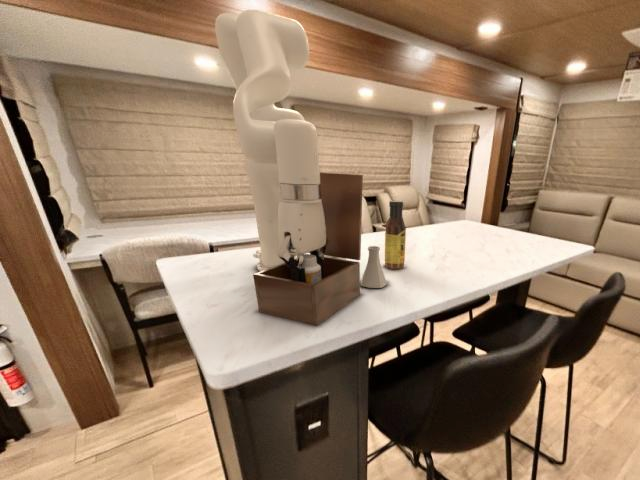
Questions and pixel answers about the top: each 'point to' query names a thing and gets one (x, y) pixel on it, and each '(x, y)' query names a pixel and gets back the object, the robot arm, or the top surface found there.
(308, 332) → the top surface
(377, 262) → the flask
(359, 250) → the lid
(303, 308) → the brown wooden box
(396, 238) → the sauce bottle
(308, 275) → the supplement bottle
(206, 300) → the top surface
